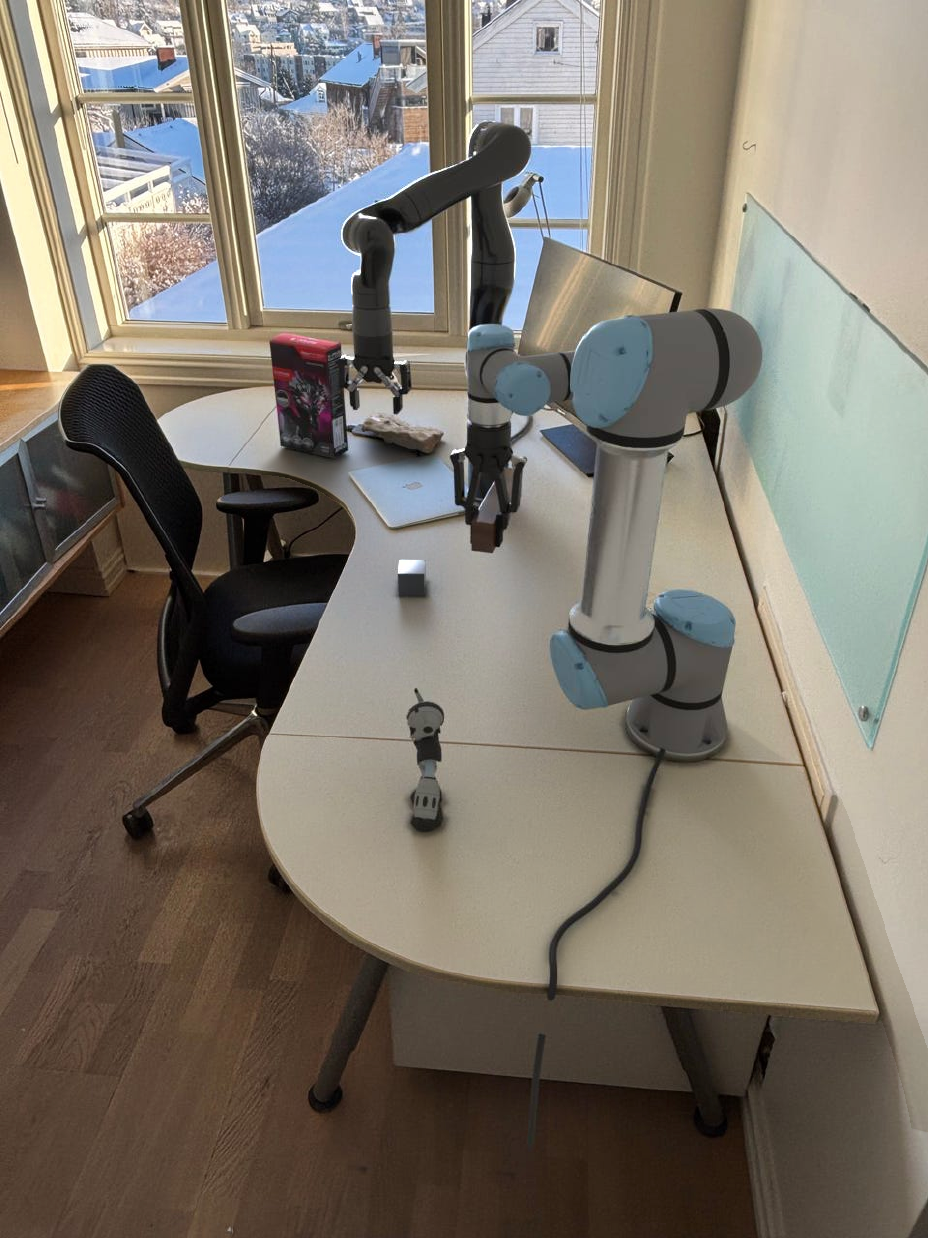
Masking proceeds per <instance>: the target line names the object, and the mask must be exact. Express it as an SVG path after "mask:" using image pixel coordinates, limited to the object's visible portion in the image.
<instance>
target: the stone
mask: <svg viewBox="0 0 928 1238" xmlns="http://www.w3.org/2000/svg"><path fill="white" fill-rule="evenodd" d="M360 430H361V432H363V433H365V432H371V433H373V435H374V436H376V437H378V438H382V439H383V441H384V442H385V443H388V444H392V443H394V444H395V445H398V446H400V447H404V448H406V449H410V450H416V451H417V450H418V451H420V452H422V453H426V454H431V453H432V452H433V451H434V449H435V446H436V445H437V444H438V443H439V442H440V441H441V440H442V438H443V437H444V432H443V431H442V430H439V429H438V428H434V427H431V426H422V425H417V424H409V423H408V422H406V421H404V420H400V419H399V417H397V416H396V417H395V416H394V414H388V413H384V412H379V413H377V414H369V415H368V416H366V419H365V420H364V421H363V423H362V425H361V427H360Z"/></svg>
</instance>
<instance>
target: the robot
mask: <svg viewBox="0 0 928 1238" xmlns="http://www.w3.org/2000/svg"><path fill="white" fill-rule="evenodd" d="M413 691H414V694H415V696H416V699H417V703H415V704H414V705H413V706H411V707H410V708H409V709H408V711H407V713H406V714H405V716H406V717H405V718H406V720H407V722H406V724H407V725H408V728H409V738H410V739H411V740H413V742H412V743H413V745H414V747H415V749H416V764H417V766H418V769H419V770H420V773H421V775H420V778H419V780H418V784H417V786H416V788H415V789H414V791H413V792H412V793H411V795H410V796H409V798H410V801H411V803H412V805H413V815H412V817H411V820H410V822H409V823H410V825H411V826H412V827H413V828H414V829H415V830H416V831H420V832H424V833H425V832H431V831H433V830H435V829H437V828H440V827H441V826H442V822H443V820H444V817H443V809H442V806H441V802H442V801H443V798H442V797H443V795H442V794H443V793H442V789H441V787H440V784H439V780H437V777H436V776H435V774H436V773H437V769H438V768H437V767H438V765H437V764H438V763H442V756H443V754H442V746H441V743H440V738H439V734H441V732H442V731H441V727H442V726H443V724H444V723H445V713H444V709H443V708H442V707H441V706H440V705H439V704H437V703H436V702H433V701H430V700H424V698H423V696H422V695H421V693H420V691H419V690H418V688H417V687H415V688H414V689H413ZM437 762H438V763H437Z"/></svg>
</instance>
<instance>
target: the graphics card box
mask: <svg viewBox="0 0 928 1238" xmlns="http://www.w3.org/2000/svg"><path fill="white" fill-rule="evenodd" d="M268 343H269V351H270V359H271V360H270V361H271V368H272V377H273V387H274V396H275V406H276V415H277V423H278V434H279V442H280V443H279V444H280V447H283V448H288V449H292V450H296V451H301V452H304V453H310V454H313V455H317V456H322V457H326V458H329V459H330V458H331V459H336V458H338V457H339V456H341V455H342V454H345V453H346V452H347V451H349V443H348V442H349V441H348V427H347V426H348V425H347V413H346V398H345V388H341V387H340V386H339V359H340V358H341V357H342V356H343V355H342V343H341V341H329V340H324V339H320V338H314V337H309V336H304V335H298V334H293V333H288V332H282V333H280V334H277V335H276V336H274V337H273V338H271V339H270V340H269V341H268Z"/></svg>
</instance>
